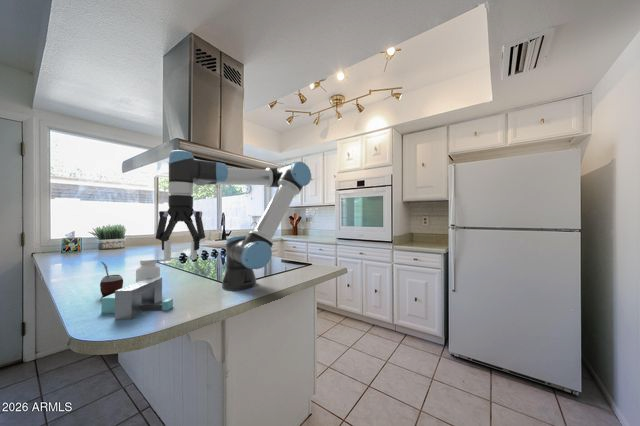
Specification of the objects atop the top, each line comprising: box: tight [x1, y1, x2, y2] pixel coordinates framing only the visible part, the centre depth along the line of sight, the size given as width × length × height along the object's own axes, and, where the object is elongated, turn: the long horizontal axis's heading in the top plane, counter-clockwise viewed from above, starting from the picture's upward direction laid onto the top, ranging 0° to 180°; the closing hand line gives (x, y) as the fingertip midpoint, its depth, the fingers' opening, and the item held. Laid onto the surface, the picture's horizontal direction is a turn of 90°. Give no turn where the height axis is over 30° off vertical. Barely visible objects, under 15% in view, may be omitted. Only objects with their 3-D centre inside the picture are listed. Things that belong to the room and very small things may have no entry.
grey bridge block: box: [114, 277, 163, 320], centre depth 84 cm, size 5×16×9 cm, turn 3°
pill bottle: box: [135, 257, 161, 283], centre depth 97 cm, size 8×8×15 cm
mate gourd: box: [99, 261, 124, 299], centre depth 97 cm, size 8×8×15 cm
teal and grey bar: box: [100, 293, 174, 314], centre depth 84 cm, size 21×5×5 cm, turn 94°
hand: (180, 259), depth 84 cm, fingers open, 8 cm apart
